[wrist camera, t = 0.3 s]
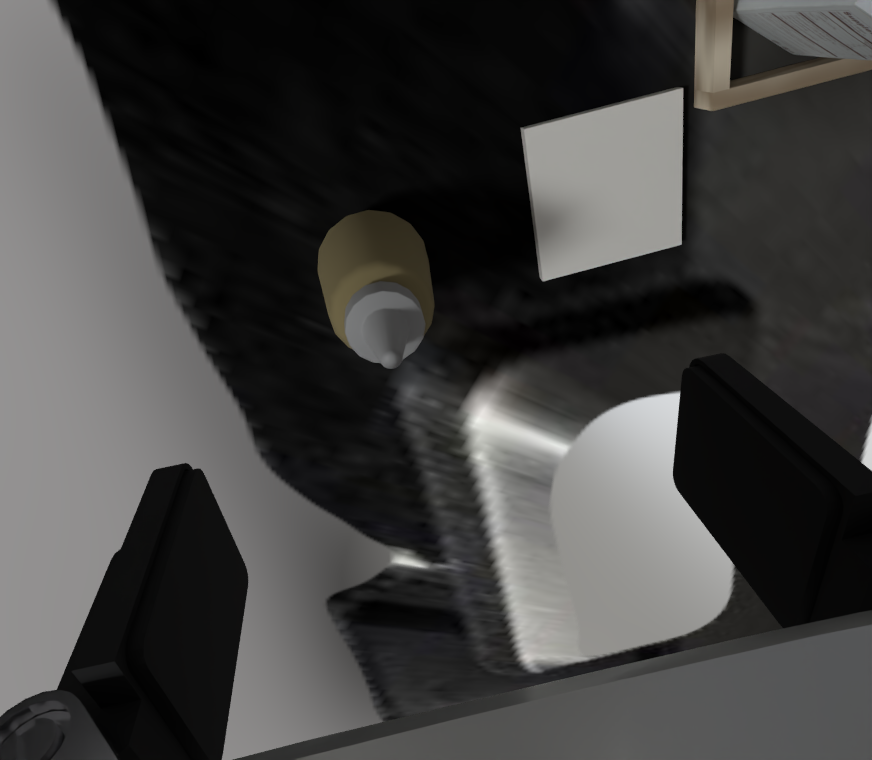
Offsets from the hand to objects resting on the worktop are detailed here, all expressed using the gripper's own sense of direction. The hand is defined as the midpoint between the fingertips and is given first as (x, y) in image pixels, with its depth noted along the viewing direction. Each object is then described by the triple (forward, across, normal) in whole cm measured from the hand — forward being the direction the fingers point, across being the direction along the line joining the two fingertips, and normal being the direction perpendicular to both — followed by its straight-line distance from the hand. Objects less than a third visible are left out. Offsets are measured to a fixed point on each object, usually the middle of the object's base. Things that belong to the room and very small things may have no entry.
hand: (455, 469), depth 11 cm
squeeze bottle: (+36, +1, +7) cm, 37 cm away
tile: (+36, -18, +6) cm, 41 cm away
